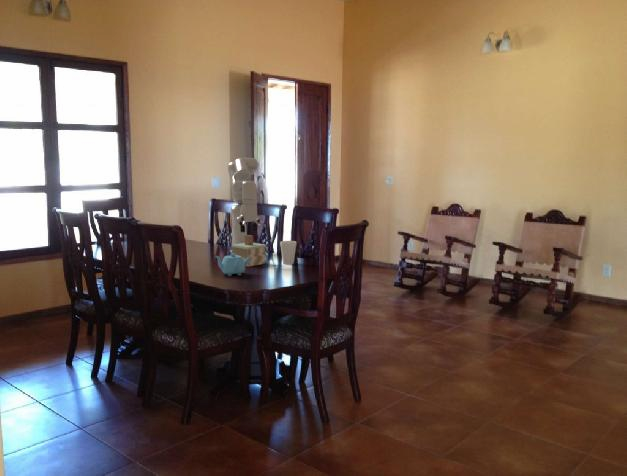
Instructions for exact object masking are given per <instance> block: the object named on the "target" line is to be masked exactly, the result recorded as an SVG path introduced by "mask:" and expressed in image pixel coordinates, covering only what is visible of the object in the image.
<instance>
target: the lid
mask: <svg viewBox="0 0 627 476" xmlns="http://www.w3.org/2000/svg"><path fill="white" fill-rule="evenodd" d="M232 247H236V248H242V249H255V248H261V247H267V244H263V243H257V242H254V235H251V234H247V235H245V243H241V244H234V245H232V244H231V248H232Z"/></svg>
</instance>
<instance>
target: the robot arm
mask: <svg viewBox="0 0 627 476" xmlns="http://www.w3.org/2000/svg"><path fill="white" fill-rule="evenodd" d="M258 167H259V163H258V161H257V159H256V158H254V157H238V158H236V159H235V161H230V162H229V163H228V165H227V170H228V174H229V178H230V185H231V190H232V191H231V192H232V193H231V197H232V198H231V199H232V201H233V202H234V203H237V204H235V205H232V206H231V207H230V218H231V237H232V238H231V239H232V240H231V245H234V244H241V243H245V235H248V233H247V224H246V223H250V222H251V223H252V231H253V232H257V231H258V224H259V222H260V219H261V216H260V215H258V201H257V200H258V199H257V183H255V181H254V180H248V179H249V178H251V177H250V176H251V175H254V174H255V173H256V172H257V170H258ZM238 203H239V204H238ZM229 253H230V254H232V249H230V250H229Z"/></svg>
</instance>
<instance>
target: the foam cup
mask: <svg viewBox="0 0 627 476" xmlns="http://www.w3.org/2000/svg"><path fill="white" fill-rule="evenodd" d="M279 244H280V246H279V247H280V250H281V258H282V264H283V265H294V263H295V257H296V256H295V255H296V249H297V248H296V247H297V241H295V240H282V241H280V242H279Z"/></svg>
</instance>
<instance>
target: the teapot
mask: <svg viewBox="0 0 627 476" xmlns="http://www.w3.org/2000/svg"><path fill="white" fill-rule="evenodd" d="M214 257H215V258H217V265H218V267H219V268H220V269H221V271H222V272H223V273H224V275H227V277H232V276H233V274H237V276H243V275H242V273H245V270H246V267H247V266H246V265H247V263H248V262H249V261H250V260H251V259H250V258H249V257H248V258H247V259H246V260H245V261H243V259H242V257H241V256H239V255H235V254H234V253H230V255H225V256H224V257H223V258H222V261H221V258H220V256H218V255H215V256H214Z"/></svg>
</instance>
